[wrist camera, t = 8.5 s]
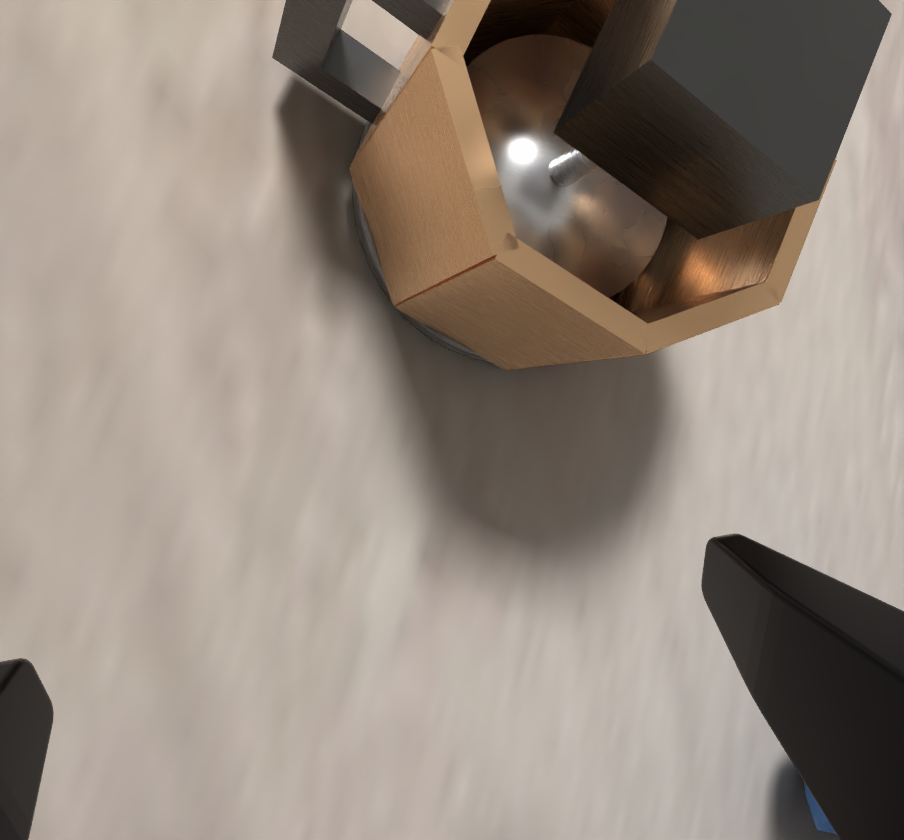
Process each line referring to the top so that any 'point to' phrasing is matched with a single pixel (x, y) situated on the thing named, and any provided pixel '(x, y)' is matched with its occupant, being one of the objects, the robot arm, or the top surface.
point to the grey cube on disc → (670, 122)
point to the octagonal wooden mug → (484, 207)
